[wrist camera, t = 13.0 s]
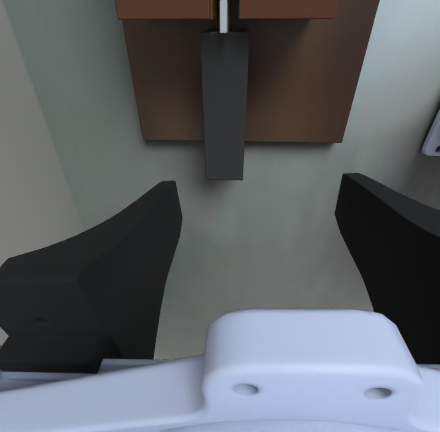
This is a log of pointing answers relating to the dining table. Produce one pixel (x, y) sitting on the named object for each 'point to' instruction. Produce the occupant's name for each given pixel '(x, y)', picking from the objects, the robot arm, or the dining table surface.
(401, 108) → the dining table surface
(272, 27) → the board
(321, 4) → the cake
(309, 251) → the dining table surface
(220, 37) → the cake knife
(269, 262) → the dining table surface
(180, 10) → the cake
